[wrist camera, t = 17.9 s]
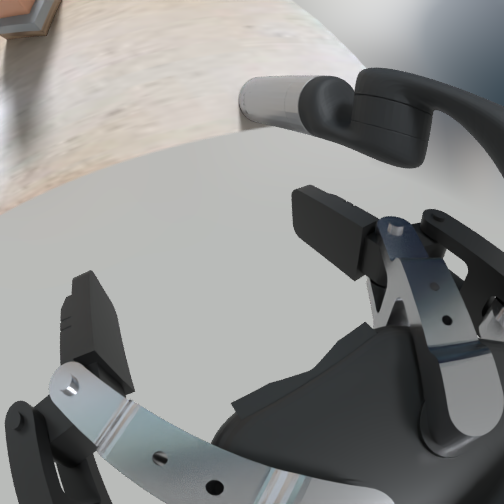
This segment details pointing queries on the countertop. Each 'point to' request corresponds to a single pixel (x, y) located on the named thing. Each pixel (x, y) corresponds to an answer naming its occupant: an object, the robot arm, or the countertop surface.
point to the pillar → (15, 7)
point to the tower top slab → (27, 19)
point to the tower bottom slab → (41, 32)
